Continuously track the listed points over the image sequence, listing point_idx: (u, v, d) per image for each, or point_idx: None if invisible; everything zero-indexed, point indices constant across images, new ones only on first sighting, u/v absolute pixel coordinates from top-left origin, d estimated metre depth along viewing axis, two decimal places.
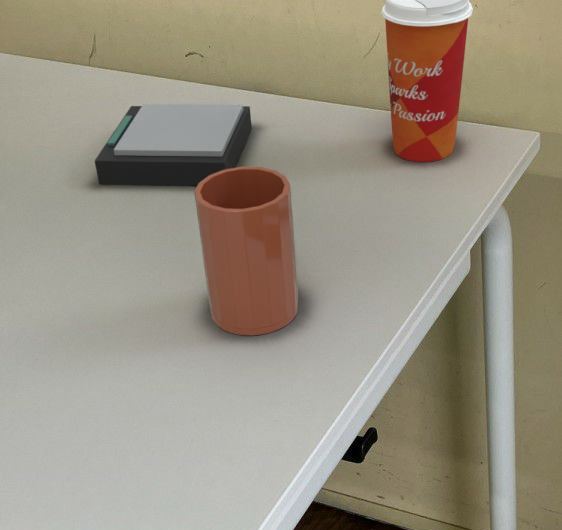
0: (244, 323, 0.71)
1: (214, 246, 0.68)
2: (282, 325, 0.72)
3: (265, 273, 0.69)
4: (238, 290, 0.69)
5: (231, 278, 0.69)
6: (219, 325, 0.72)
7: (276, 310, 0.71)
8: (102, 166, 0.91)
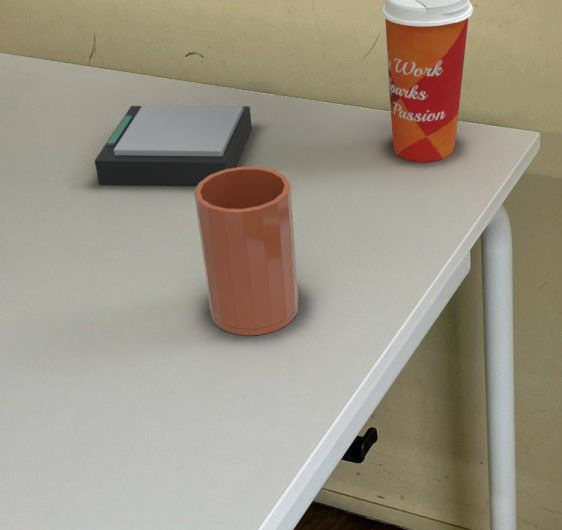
0: (244, 323, 0.71)
1: (214, 246, 0.68)
2: (282, 325, 0.72)
3: (265, 273, 0.69)
4: (238, 290, 0.69)
5: (231, 278, 0.69)
6: (219, 325, 0.72)
7: (276, 310, 0.71)
8: (102, 166, 0.91)
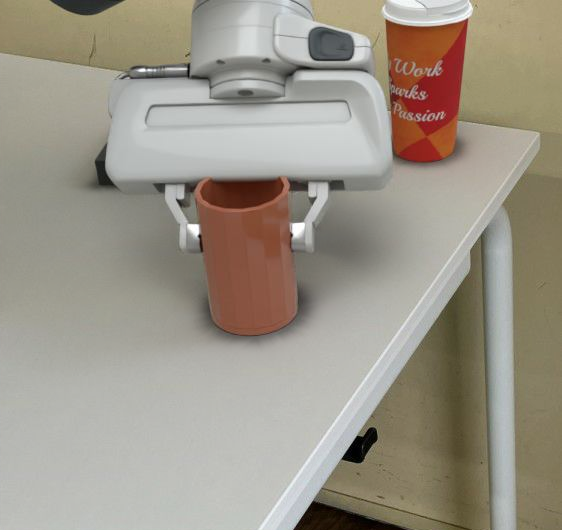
0: (244, 323, 0.71)
1: (214, 246, 0.68)
2: (282, 325, 0.72)
3: (265, 273, 0.69)
4: (237, 290, 0.69)
5: (231, 278, 0.69)
6: (219, 325, 0.72)
7: (276, 310, 0.71)
8: (102, 166, 0.91)
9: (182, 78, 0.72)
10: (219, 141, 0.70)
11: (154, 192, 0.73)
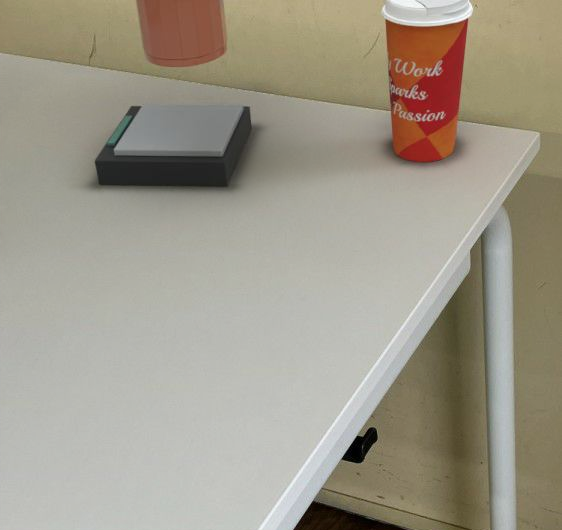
0: (173, 53, 0.75)
1: None
2: (210, 58, 0.75)
3: None
4: (165, 16, 0.73)
5: (158, 2, 0.72)
6: (151, 60, 0.76)
7: (203, 40, 0.74)
8: (102, 166, 0.91)
9: None
10: None
11: None
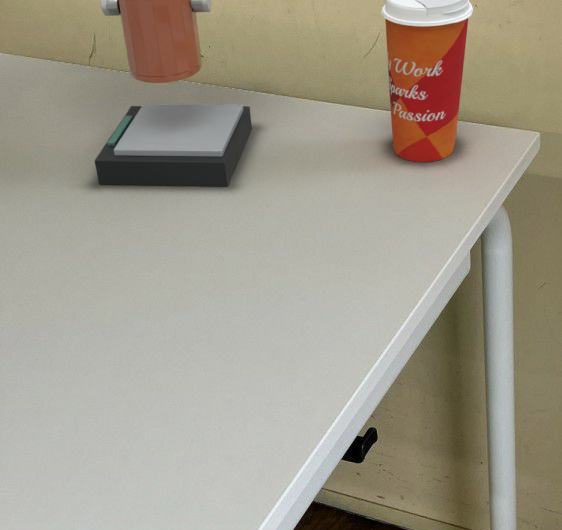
0: (154, 71, 0.87)
1: (126, 0, 0.84)
2: (186, 75, 0.88)
3: (169, 24, 0.85)
4: (147, 40, 0.85)
5: (141, 28, 0.85)
6: (135, 77, 0.89)
7: (180, 60, 0.87)
8: (102, 166, 0.91)
9: None
10: None
11: None
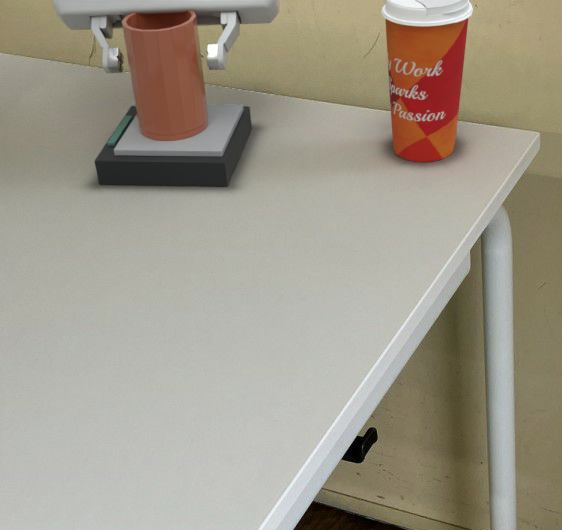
0: (163, 130, 0.90)
1: (137, 63, 0.87)
2: (194, 133, 0.91)
3: (177, 86, 0.88)
4: (156, 101, 0.89)
5: (151, 90, 0.88)
6: (145, 134, 0.92)
7: (188, 119, 0.90)
8: (102, 166, 0.91)
9: None
10: None
11: None
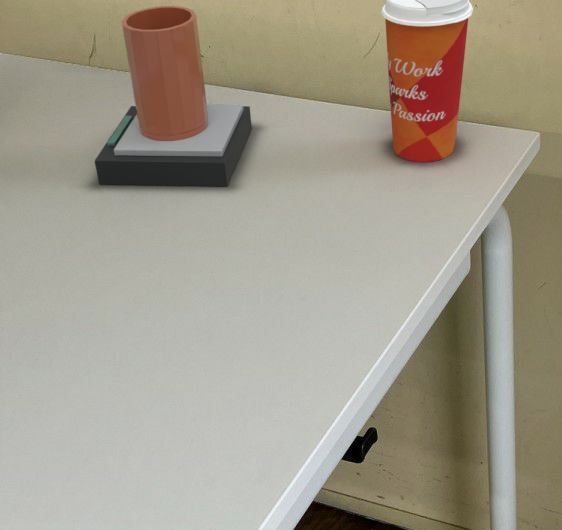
0: (163, 130, 0.90)
1: (137, 63, 0.87)
2: (194, 133, 0.91)
3: (177, 86, 0.88)
4: (156, 101, 0.89)
5: (151, 90, 0.88)
6: (145, 134, 0.92)
7: (188, 119, 0.90)
8: (102, 166, 0.91)
9: None
10: None
11: None
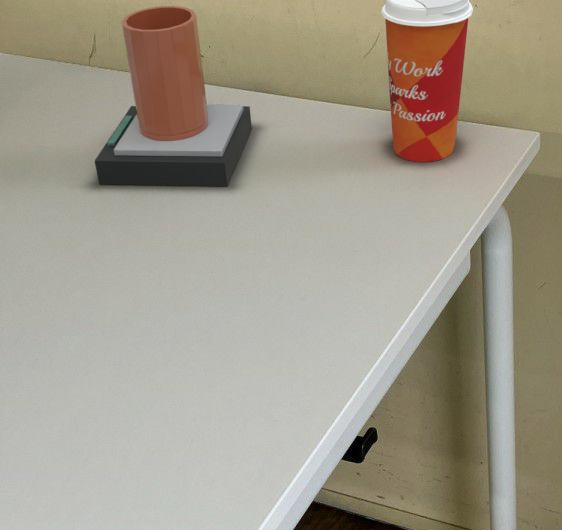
0: (163, 130, 0.90)
1: (137, 63, 0.87)
2: (194, 133, 0.91)
3: (177, 86, 0.88)
4: (156, 101, 0.89)
5: (151, 90, 0.88)
6: (145, 134, 0.92)
7: (188, 119, 0.90)
8: (102, 166, 0.91)
9: None
10: None
11: None
